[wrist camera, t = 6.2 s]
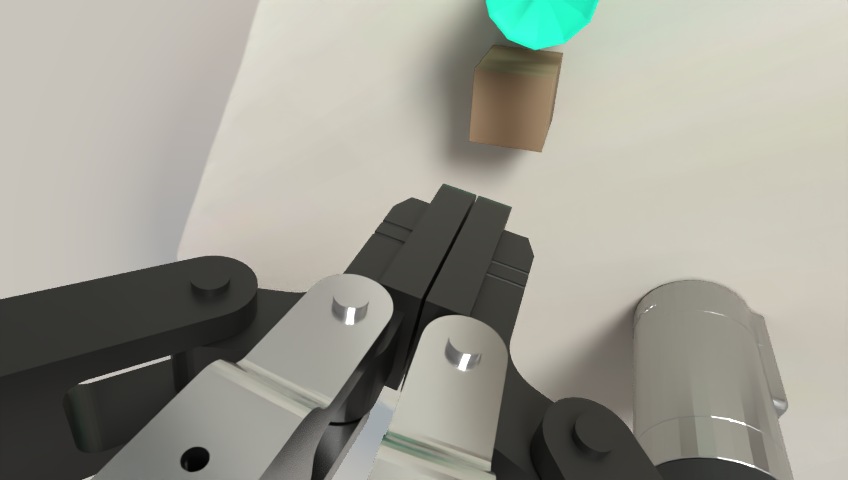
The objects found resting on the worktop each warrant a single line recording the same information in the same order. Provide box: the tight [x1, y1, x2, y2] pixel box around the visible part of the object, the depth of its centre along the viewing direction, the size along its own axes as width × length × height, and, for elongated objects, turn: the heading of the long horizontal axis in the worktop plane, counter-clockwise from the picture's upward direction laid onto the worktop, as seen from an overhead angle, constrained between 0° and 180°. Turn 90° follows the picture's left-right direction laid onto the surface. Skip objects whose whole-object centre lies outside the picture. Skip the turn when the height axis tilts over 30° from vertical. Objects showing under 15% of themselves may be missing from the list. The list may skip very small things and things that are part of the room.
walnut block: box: [469, 45, 563, 152], centre depth 38 cm, size 5×5×6 cm
